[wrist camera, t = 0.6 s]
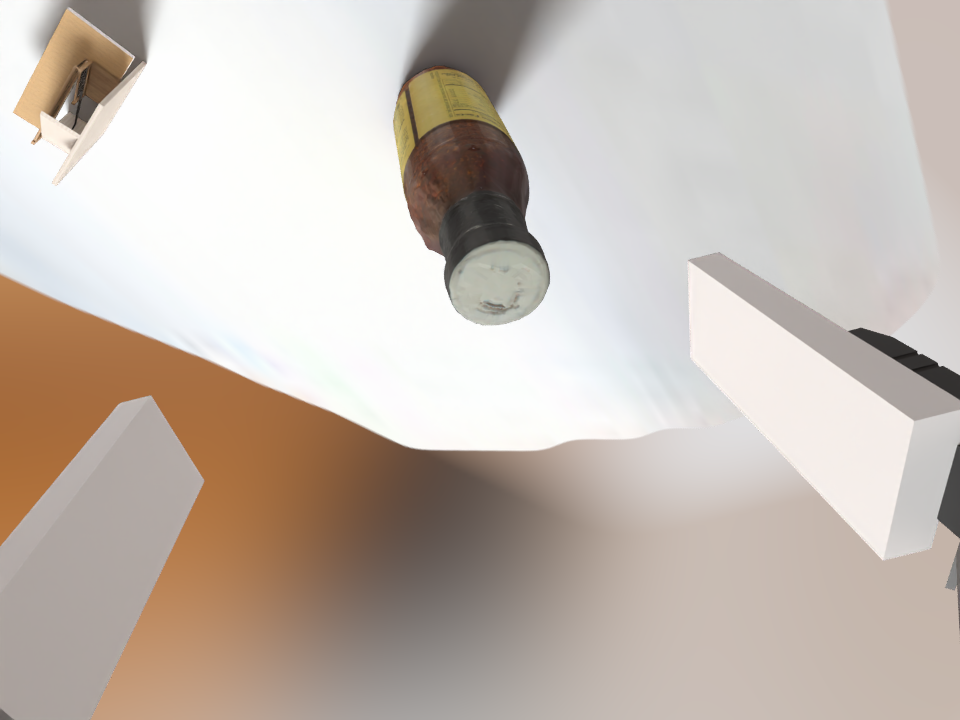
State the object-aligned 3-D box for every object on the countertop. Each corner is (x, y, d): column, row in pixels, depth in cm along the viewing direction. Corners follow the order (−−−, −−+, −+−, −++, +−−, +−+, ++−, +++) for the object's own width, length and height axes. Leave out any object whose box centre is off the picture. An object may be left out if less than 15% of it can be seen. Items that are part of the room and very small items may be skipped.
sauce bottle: (441, 177, 38) (483, 379, 24) (371, 113, 35) (373, 305, 21) (512, 108, 36) (605, 289, 22) (444, 30, 32) (503, 186, 18)
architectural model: (41, 92, 32) (-25, 143, 27) (94, -7, 29) (32, 27, 24) (104, 133, 34) (54, 188, 28) (159, 44, 31) (115, 86, 26)
